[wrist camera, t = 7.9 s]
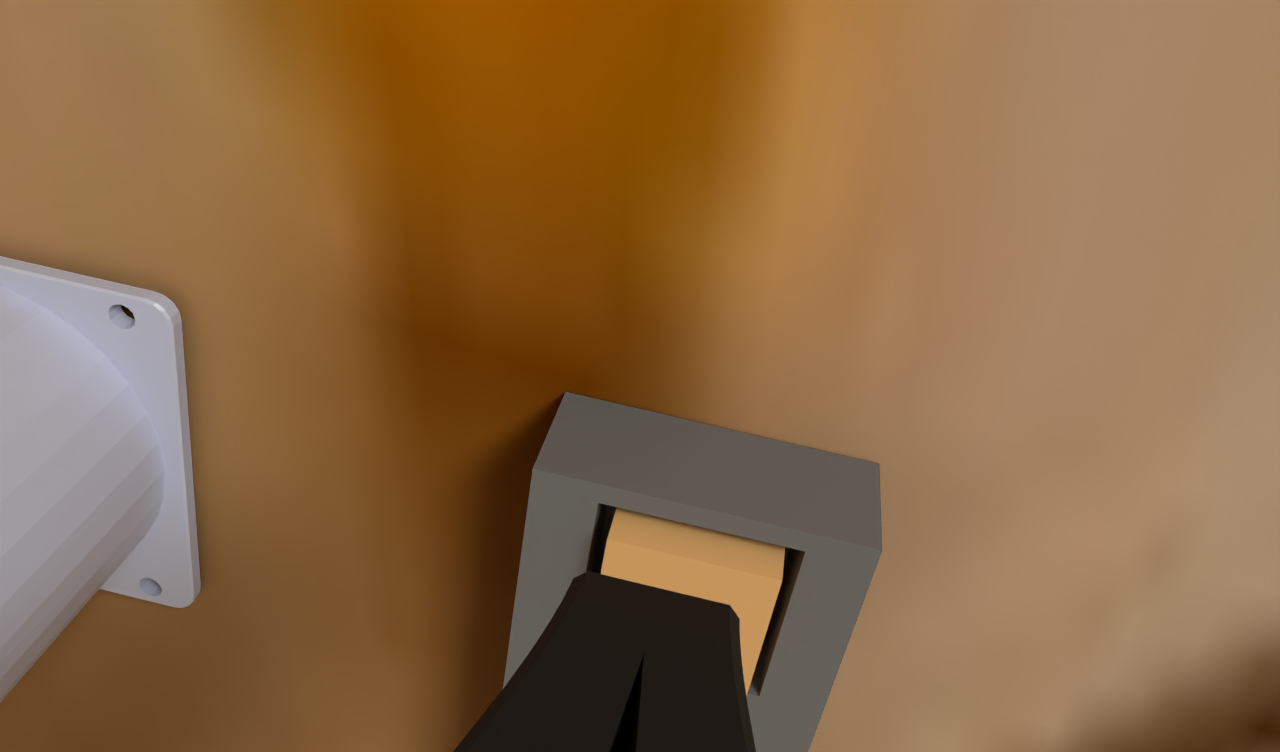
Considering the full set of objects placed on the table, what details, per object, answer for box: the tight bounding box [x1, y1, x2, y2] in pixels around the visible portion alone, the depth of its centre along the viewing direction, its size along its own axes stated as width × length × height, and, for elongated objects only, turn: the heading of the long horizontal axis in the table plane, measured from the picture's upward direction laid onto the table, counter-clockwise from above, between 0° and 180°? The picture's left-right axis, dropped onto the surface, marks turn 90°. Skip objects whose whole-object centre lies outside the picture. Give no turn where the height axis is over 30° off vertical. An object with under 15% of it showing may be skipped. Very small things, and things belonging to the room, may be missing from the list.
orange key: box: [601, 507, 785, 696], centre depth 20 cm, size 3×3×2 cm
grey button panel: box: [503, 392, 882, 752], centre depth 24 cm, size 6×15×2 cm, turn 170°
